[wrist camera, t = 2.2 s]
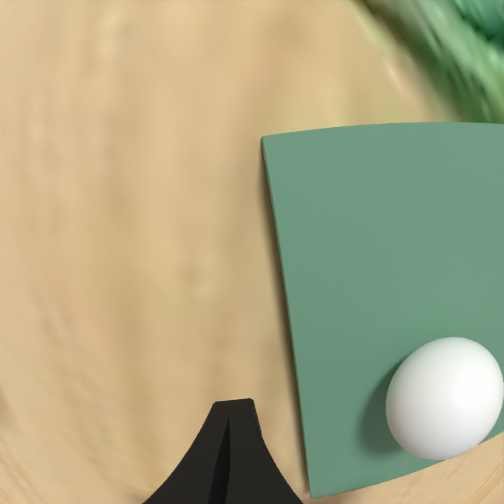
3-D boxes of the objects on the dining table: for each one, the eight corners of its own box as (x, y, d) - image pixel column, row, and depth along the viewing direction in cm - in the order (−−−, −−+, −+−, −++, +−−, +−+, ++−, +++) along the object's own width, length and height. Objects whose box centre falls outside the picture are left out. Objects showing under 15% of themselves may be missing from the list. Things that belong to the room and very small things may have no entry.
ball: (455, 388, 12) (501, 453, 7) (367, 416, 12) (399, 499, 7) (472, 303, 10) (543, 363, 6) (371, 331, 10) (425, 419, 6)
